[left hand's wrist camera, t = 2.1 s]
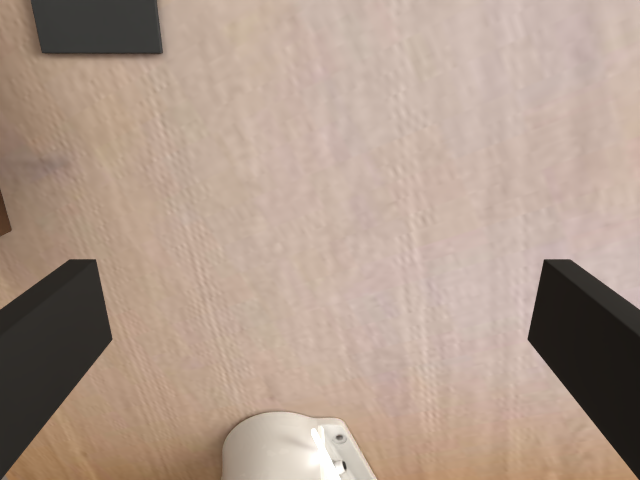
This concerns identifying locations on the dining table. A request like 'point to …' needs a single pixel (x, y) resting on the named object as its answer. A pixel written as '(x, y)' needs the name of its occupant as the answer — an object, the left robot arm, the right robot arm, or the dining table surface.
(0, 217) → the walnut box
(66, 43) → the mat
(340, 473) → the right robot arm
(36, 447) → the dining table surface
